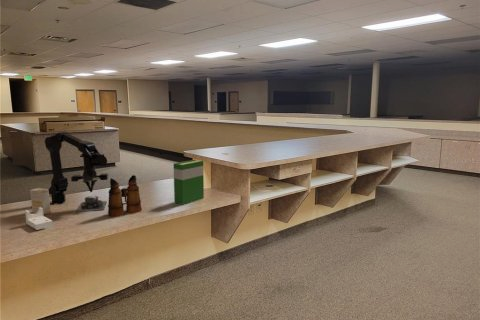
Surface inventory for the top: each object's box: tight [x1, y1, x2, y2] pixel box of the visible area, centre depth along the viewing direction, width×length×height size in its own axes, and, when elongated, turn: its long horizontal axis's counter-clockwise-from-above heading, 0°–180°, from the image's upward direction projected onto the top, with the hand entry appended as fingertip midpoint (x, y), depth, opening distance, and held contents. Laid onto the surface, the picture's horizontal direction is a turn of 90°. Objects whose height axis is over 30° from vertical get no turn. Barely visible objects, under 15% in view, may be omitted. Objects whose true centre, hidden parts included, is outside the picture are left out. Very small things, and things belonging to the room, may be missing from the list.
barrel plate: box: [76, 199, 108, 213], centre depth 194 cm, size 14×14×3 cm
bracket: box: [24, 207, 54, 231], centre depth 164 cm, size 13×7×8 cm, turn 50°
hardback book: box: [173, 159, 205, 205], centre depth 207 cm, size 18×7×24 cm, turn 142°
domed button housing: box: [84, 195, 99, 205], centre depth 193 cm, size 7×6×5 cm
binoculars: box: [107, 174, 142, 218], centre depth 184 cm, size 18×8×20 cm, turn 130°
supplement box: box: [29, 187, 52, 215], centre depth 183 cm, size 8×5×13 cm, turn 71°
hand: (91, 192), depth 192 cm, fingers closed
